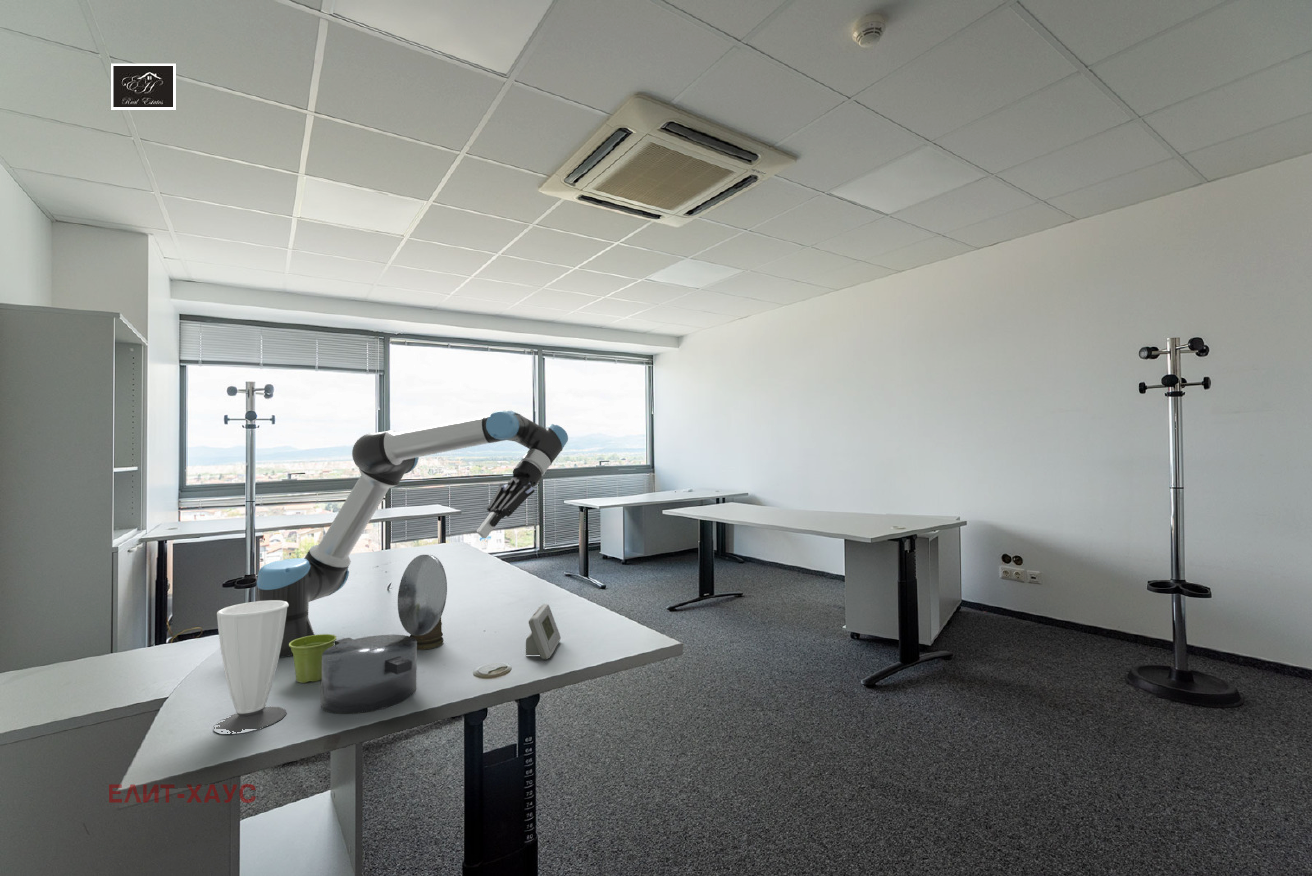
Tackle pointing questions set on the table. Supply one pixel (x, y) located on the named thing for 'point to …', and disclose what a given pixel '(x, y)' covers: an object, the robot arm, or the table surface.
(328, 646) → the plant pot
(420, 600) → the pot lid
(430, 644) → the container
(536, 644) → the digital clock
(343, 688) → the cooking pot
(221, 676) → the table surface
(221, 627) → the cup
